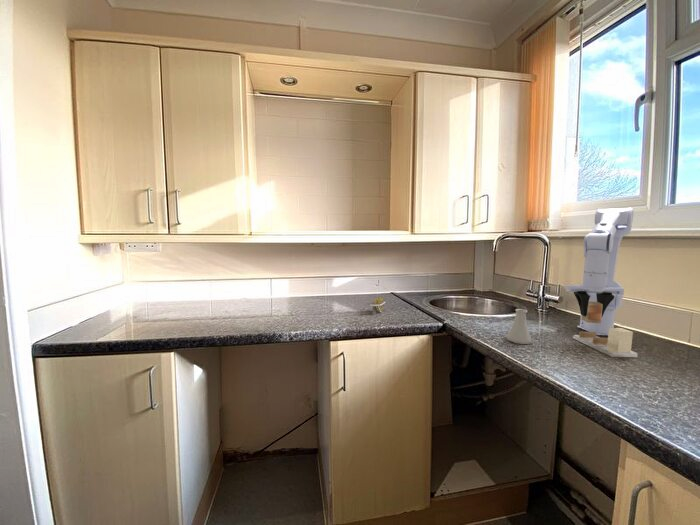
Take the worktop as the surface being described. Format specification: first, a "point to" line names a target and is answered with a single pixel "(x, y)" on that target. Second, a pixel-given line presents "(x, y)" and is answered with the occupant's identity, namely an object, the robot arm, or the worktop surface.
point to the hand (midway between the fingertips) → (591, 315)
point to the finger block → (593, 312)
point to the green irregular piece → (377, 305)
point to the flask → (519, 329)
